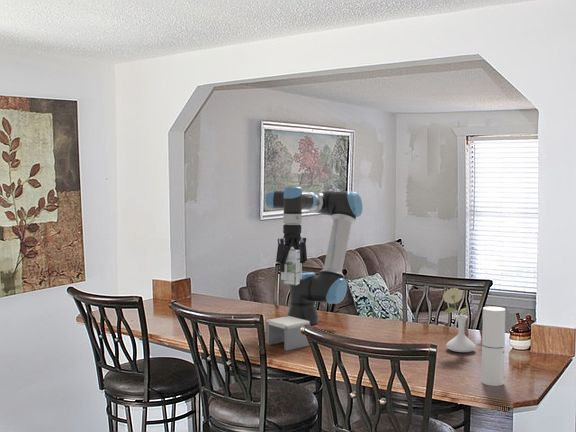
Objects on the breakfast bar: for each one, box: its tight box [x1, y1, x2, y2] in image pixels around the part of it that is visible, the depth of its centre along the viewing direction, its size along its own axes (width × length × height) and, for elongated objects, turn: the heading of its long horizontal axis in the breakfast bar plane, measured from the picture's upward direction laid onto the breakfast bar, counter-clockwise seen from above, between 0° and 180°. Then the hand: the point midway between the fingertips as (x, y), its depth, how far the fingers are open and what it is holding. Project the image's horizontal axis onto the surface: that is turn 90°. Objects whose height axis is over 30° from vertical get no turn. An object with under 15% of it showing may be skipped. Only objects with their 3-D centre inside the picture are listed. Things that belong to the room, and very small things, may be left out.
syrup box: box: [282, 248, 300, 286], centre depth 275 cm, size 6×6×14 cm
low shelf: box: [265, 315, 311, 351], centre depth 270 cm, size 13×12×10 cm
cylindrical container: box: [480, 306, 506, 387], centre depth 222 cm, size 7×7×25 cm
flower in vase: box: [442, 287, 477, 353], centre depth 261 cm, size 13×11×25 cm
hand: (291, 279), depth 275 cm, fingers closed on syrup box, 7 cm apart
